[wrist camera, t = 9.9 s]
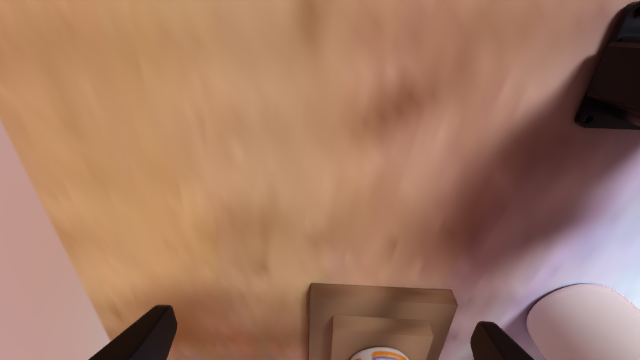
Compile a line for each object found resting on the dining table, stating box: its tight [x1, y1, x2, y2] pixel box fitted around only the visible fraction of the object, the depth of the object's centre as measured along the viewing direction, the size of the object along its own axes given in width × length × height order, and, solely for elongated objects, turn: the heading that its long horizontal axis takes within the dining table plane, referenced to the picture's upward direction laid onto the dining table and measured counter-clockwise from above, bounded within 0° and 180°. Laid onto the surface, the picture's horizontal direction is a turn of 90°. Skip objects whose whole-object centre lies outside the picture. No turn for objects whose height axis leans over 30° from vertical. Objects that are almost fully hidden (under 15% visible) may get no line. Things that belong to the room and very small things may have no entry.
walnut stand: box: [309, 283, 458, 360], centre depth 27 cm, size 12×12×3 cm
